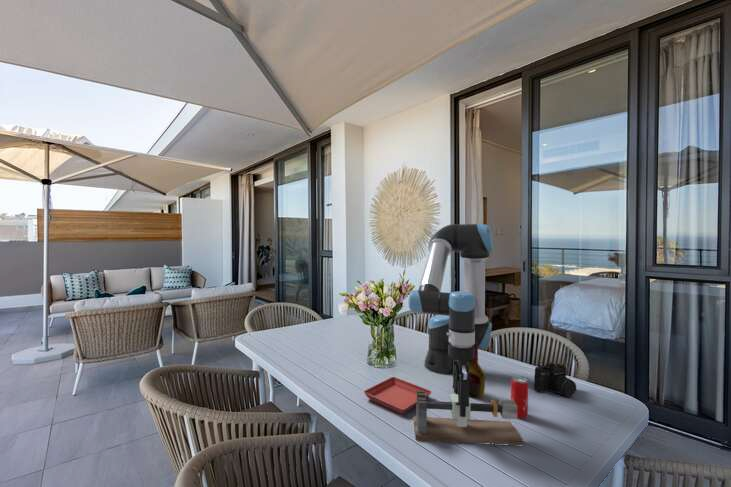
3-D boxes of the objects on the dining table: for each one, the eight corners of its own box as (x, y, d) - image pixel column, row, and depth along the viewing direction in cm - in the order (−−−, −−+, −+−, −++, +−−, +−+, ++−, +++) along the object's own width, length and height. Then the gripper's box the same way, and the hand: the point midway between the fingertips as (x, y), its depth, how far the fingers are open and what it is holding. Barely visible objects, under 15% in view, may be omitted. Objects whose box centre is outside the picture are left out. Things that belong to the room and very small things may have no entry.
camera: (552, 401, 122) (553, 374, 121) (530, 388, 132) (530, 363, 132) (582, 396, 126) (583, 370, 125) (558, 384, 136) (559, 359, 136)
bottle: (488, 397, 124) (489, 343, 124) (478, 402, 120) (479, 347, 120) (461, 385, 134) (462, 335, 133) (451, 390, 130) (452, 338, 129)
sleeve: (450, 409, 104) (450, 393, 104) (466, 410, 104) (467, 394, 104) (453, 418, 99) (453, 401, 99) (470, 419, 99) (470, 402, 99)
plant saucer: (432, 399, 123) (432, 390, 123) (403, 419, 110) (403, 409, 109) (392, 384, 135) (393, 376, 135) (362, 400, 122) (362, 391, 122)
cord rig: (413, 420, 108) (414, 388, 108) (510, 426, 105) (511, 393, 105) (415, 439, 98) (415, 404, 98) (522, 446, 95) (523, 409, 95)
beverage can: (512, 409, 115) (513, 375, 115) (529, 414, 112) (530, 379, 112) (508, 415, 111) (509, 380, 111) (525, 421, 108) (525, 384, 108)
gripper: (444, 334, 110) (443, 404, 111) (453, 354, 92) (452, 437, 93) (467, 335, 110) (466, 406, 110) (481, 355, 92) (480, 439, 92)
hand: (460, 420), depth 102 cm, fingers closed on sleeve, 5 cm apart
